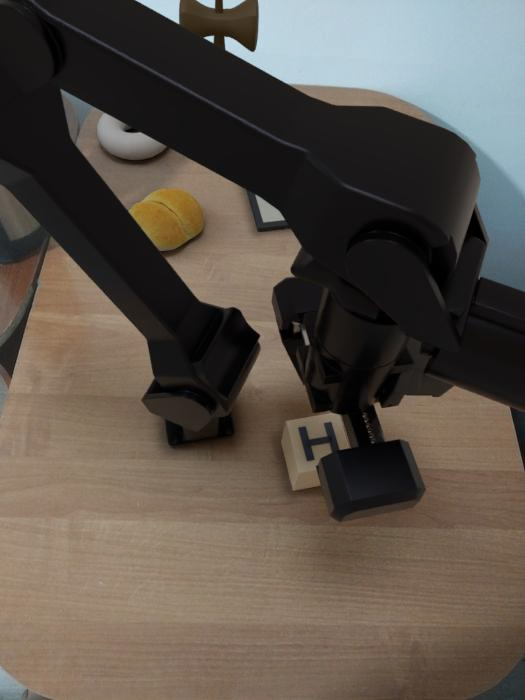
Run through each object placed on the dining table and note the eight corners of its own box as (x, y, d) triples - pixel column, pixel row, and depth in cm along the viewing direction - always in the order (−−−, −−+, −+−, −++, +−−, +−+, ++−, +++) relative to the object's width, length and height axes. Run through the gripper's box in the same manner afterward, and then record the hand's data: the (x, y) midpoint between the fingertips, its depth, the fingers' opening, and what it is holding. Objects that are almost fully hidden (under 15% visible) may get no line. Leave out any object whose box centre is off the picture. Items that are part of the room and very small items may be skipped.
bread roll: (216, 225, 69) (216, 201, 66) (160, 263, 65) (157, 240, 62) (172, 190, 72) (169, 165, 68) (116, 225, 68) (110, 201, 65)
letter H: (343, 481, 53) (354, 462, 49) (292, 491, 52) (299, 472, 48) (329, 433, 55) (338, 410, 51) (280, 441, 55) (285, 420, 50)
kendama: (253, 135, 79) (261, -20, 62) (184, 131, 78) (173, -25, 61) (253, 108, 82) (261, -46, 65) (187, 105, 81) (177, -51, 64)
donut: (164, 114, 80) (93, 122, 78) (163, 92, 77) (89, 100, 75) (180, 160, 75) (105, 170, 73) (179, 138, 72) (101, 148, 70)
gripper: (549, 446, 31) (450, 520, 44) (428, 206, 40) (377, 327, 54) (358, 483, 29) (315, 549, 42) (278, 223, 39) (264, 343, 52)
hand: (322, 430), depth 48 cm, fingers open, 9 cm apart
